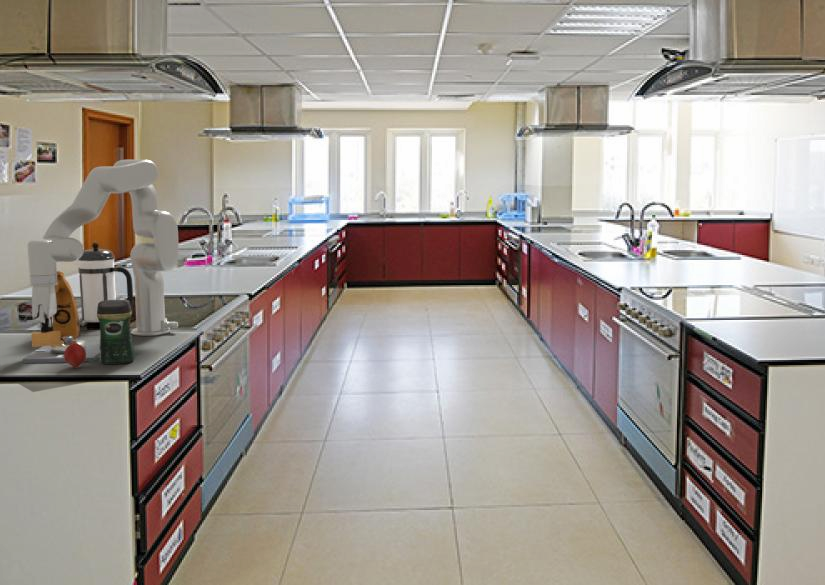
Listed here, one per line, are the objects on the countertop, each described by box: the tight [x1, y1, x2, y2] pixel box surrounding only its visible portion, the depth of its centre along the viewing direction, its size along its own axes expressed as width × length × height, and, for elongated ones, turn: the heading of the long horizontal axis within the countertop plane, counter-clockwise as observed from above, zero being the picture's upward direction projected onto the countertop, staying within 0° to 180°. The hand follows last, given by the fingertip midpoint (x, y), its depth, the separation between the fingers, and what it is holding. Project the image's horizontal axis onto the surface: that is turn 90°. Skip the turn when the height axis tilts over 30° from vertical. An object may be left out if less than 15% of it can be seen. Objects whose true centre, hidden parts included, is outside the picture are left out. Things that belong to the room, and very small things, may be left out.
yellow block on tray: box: [30, 331, 87, 354], centre depth 241 cm, size 15×10×6 cm, turn 115°
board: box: [22, 342, 100, 364], centre depth 243 cm, size 20×20×2 cm
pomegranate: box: [64, 341, 86, 369], centre depth 227 cm, size 6×6×8 cm
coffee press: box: [74, 242, 134, 327], centre depth 291 cm, size 17×16×30 cm
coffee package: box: [53, 270, 81, 339], centre depth 268 cm, size 10×12×22 cm
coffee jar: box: [97, 299, 135, 365], centre depth 233 cm, size 10×8×19 cm
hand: (47, 339), depth 243 cm, fingers closed
